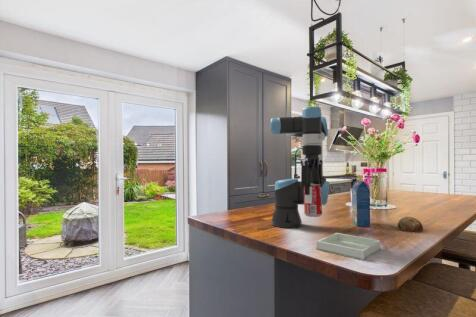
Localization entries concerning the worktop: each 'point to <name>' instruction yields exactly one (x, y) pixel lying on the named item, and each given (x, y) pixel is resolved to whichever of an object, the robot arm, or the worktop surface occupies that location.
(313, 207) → the soda can
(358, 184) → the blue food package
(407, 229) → the bread roll
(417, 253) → the worktop surface
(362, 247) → the tray
